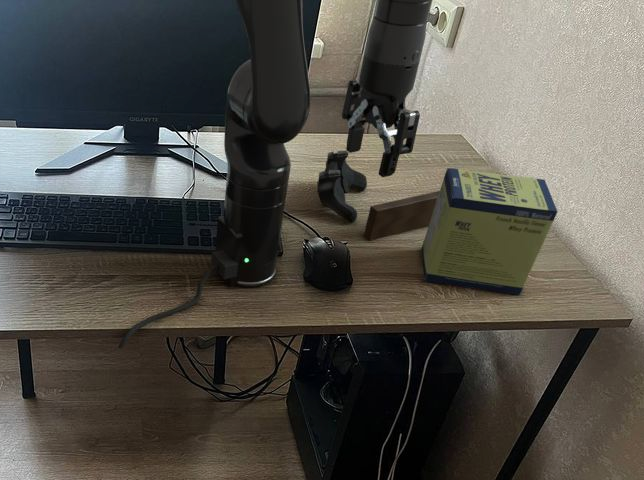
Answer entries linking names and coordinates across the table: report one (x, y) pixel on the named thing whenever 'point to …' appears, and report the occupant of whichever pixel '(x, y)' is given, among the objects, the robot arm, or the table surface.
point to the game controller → (339, 184)
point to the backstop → (400, 216)
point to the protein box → (486, 230)
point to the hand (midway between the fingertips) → (368, 163)
